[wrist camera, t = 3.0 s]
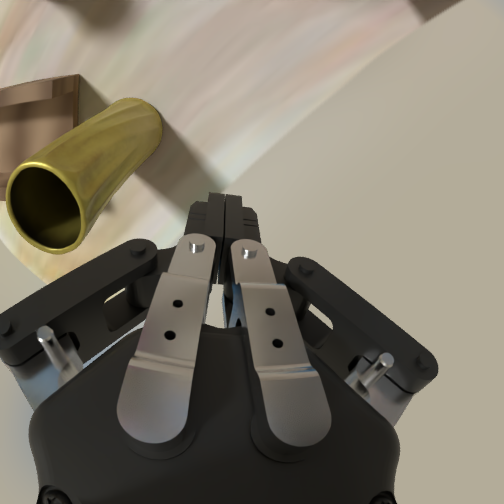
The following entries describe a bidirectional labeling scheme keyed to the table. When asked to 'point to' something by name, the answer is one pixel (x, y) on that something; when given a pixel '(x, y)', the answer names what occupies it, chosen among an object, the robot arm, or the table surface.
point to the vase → (80, 175)
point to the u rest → (34, 119)
